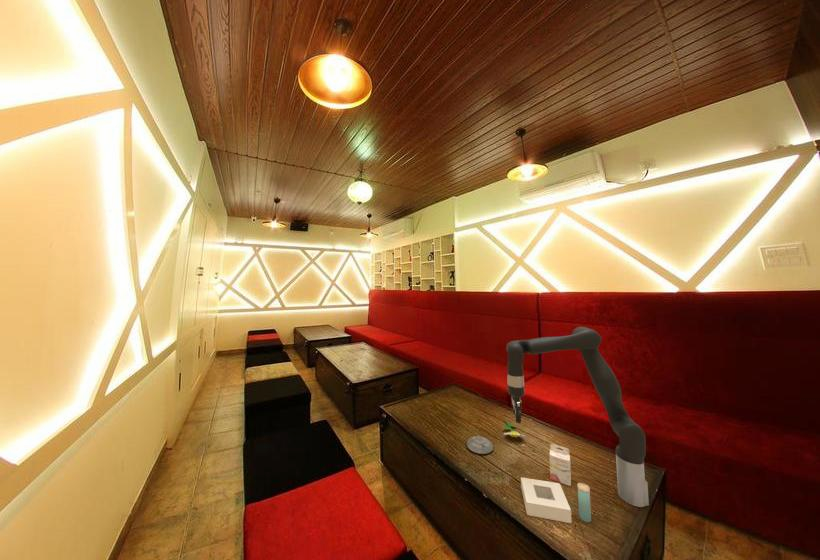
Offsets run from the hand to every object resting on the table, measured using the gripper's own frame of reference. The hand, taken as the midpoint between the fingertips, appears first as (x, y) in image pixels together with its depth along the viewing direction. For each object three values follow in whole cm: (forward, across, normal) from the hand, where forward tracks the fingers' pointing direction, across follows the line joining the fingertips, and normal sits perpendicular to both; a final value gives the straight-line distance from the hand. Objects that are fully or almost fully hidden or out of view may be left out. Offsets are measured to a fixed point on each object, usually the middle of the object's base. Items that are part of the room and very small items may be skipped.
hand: (517, 418), depth 122 cm
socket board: (+29, -12, -8) cm, 33 cm away
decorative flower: (+30, +43, -1) cm, 52 cm away
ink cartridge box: (+30, +5, -19) cm, 35 cm away
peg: (+29, -15, -22) cm, 40 cm away
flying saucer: (+30, +22, +18) cm, 41 cm away
